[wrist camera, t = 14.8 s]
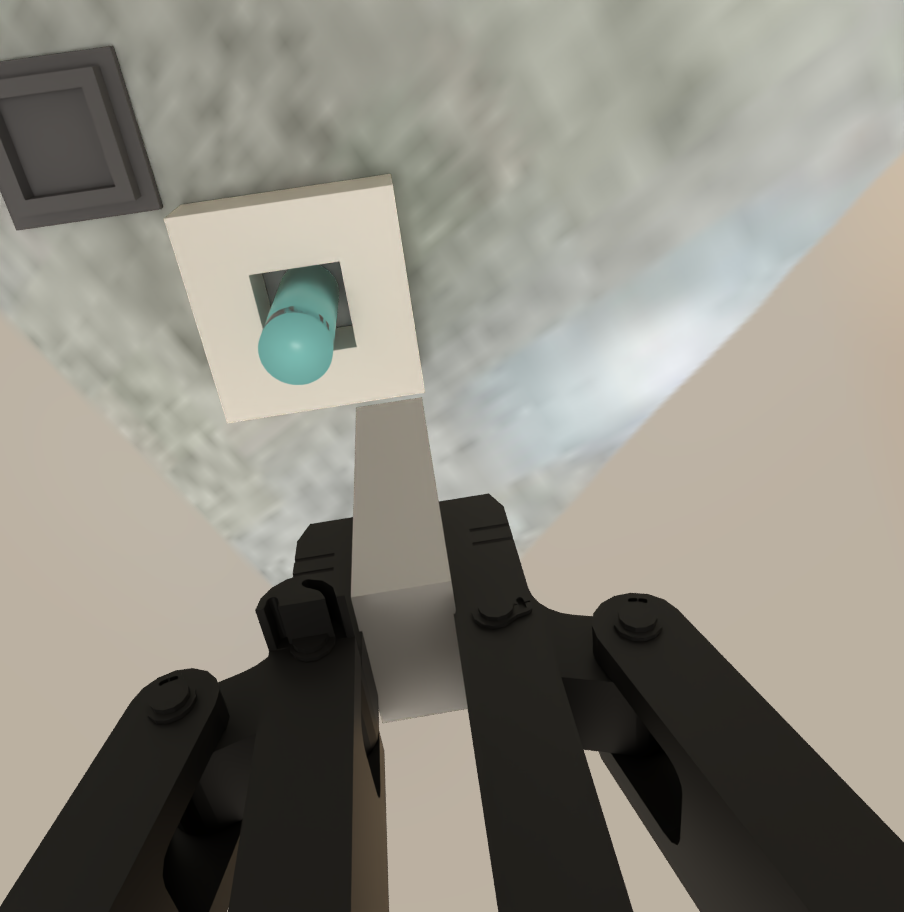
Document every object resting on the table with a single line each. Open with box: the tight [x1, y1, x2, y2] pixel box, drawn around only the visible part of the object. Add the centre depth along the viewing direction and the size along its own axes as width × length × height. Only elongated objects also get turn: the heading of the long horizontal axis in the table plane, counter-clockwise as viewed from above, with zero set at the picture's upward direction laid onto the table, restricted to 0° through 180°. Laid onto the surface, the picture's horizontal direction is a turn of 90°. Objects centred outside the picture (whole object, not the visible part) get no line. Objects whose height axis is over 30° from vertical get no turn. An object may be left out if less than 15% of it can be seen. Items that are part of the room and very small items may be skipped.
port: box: [164, 174, 425, 423], centre depth 43 cm, size 12×12×4 cm
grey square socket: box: [0, 46, 163, 230], centre depth 38 cm, size 8×8×2 cm
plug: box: [258, 265, 339, 385], centre depth 40 cm, size 4×4×10 cm
